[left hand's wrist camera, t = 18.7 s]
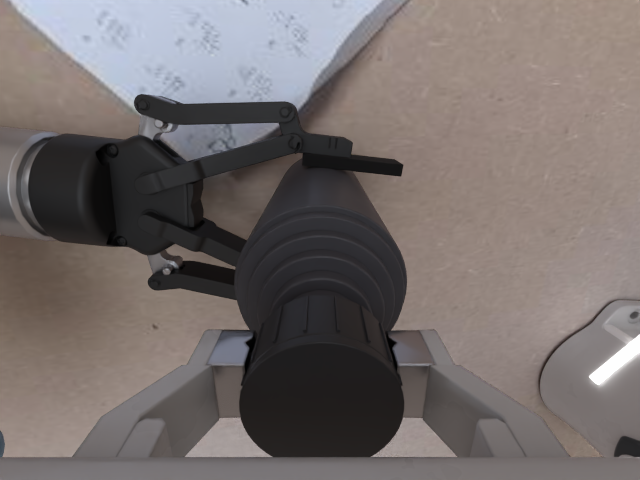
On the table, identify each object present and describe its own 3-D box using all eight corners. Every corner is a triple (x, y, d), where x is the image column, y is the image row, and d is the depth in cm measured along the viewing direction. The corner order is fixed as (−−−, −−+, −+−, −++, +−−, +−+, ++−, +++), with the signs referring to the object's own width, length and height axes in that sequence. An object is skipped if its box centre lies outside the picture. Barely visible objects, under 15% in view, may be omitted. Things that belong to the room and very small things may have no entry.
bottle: (357, 151, 29) (469, 254, 7) (361, 229, 32) (453, 478, 10) (274, 158, 29) (149, 279, 8) (285, 235, 32) (212, 493, 10)
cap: (258, 404, 11) (244, 470, 9) (249, 293, 10) (229, 340, 8) (384, 404, 11) (399, 470, 9) (393, 293, 10) (413, 341, 8)
